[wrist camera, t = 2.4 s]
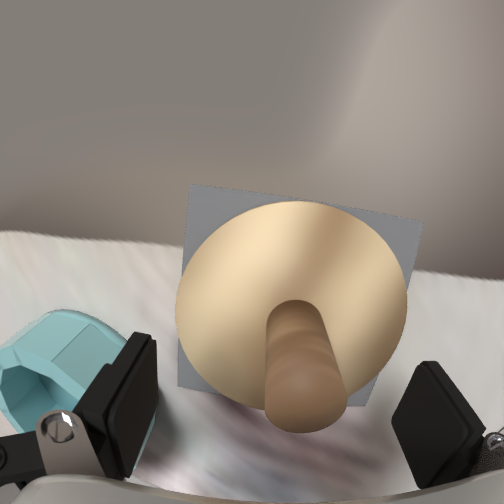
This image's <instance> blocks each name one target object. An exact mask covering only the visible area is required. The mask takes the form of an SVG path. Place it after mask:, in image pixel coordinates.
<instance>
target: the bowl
mask: <svg viewBox="0 0 504 504" xmlns="http://www.w3.org/2000/svg"><path fill="white" fill-rule="evenodd" d="M126 342H127V340H126V339H125V338H123V337H122V336H121V335H120V334H119V333H118V332H116V331H115V330H114V329H112V328H111V327H109V326H108V325H107V324H105V323H103V322H102V321H100V320H98V319H96V318H94V317H92V316H90V315H88V314H85V313H82V312H79V311H74V310H65V309H61V310H54V311H51V312H48V313H46V314H44V315H43V316H41V317H40V318H39V319H37V320H35V321H33V322H31V323H29V324H27V325H26V326H25V327H23V328H22V329H21V330H19V331H18V332H17V333H16V334H14V335H13V336H12V337H10V338H9V339H8V340H7V341H5V342H4V343H3V344H1V345H0V410H1V412H2V413H3V414H4V416H5V417H6V418H7V420H8V421H9V422H10V423H11V425H12V426H13V427H14V428H15V430H16V431H17V432H18V433H19V434H20V433H25V432H30V431H35V430H36V427H35V425H36V423H37V420H38V419H39V418H40V417H41V415H43V414H44V413H46V412H48V411H52V410H60V409H62V410H67V411H70V412H72V410H73V409H74V407H75V406H76V404H77V403H78V401H79V400H80V399H81V397H82V396H83V394H84V393H85V391H86V390H87V388H88V387H89V385H90V384H91V382H92V381H93V379H94V378H95V377H96V375H97V374H98V372H99V371H100V369H101V368H102V367H103V365H104V364H106V363H109V364H112V363H113V361H114V360H115V358H116V357H117V356H118V354H119V353H120V351H121V350H122V348H123V347H124V345H125V344H126ZM157 407H158V405H157ZM156 412H157V408H156V411H155V413H154V416H153V419H152V421H151V424H150V426H149V429H148V432H147V434H146V437H145V440H144V442H143V445H142V447H141V450H140V453H139V455H138V458H137V461H136V463H135V466H134V469H136V466H137V464H138V462H139V459H140V457H141V454H142V452H143V449H144V447H145V445H146V442H147V440H148V437H149V435H150V433H151V430H152V428H153V426H154V423H155V414H156ZM134 469H133V470H134Z"/></svg>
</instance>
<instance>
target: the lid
mask: <svg viewBox="0 0 504 504" xmlns="http://www.w3.org/2000/svg"><path fill="white" fill-rule="evenodd" d="M406 314H407V291H406V284H405V280H404V276H403V273H402V270H401V267H400V265H399V263H398V261H397V259H396V257H395V255H394V253H393V252H392V250H391V249H390V248H389V246H388V245H387V243H386V242H385V241H384V240H383V239H382V238H381V237H380V236H379V235H378V233H377V232H375V231H374V230H373V229H372V228H370V227H369V226H368V225H367V224H365V223H364V222H362V221H361V220H359V219H357V218H356V217H354V216H352V215H350V214H349V213H347V212H345V211H342V210H340V209H337V208H335V207H332V206H329V205H325V204H321V203H317V202H310V201H299V200H296V201H280V202H274V203H268V204H264V205H261V206H258V207H255V208H252V209H249V210H247V211H245V212H243V213H241V214H238V215H236V216H234V217H233V218H231V219H230V220H228V221H227V222H225V223H224V224H222V225H221V226H220V227H219V228H218V229H216V230H215V231H214V232H213V233H212V234H211V235H210V236H209V237H208V238H207V239H206V240H205V241H204V243H203V244H202V245H201V246H200V247H199V248H198V250H197V251H196V252H195V253H194V255H193V257H192V258H191V260H190V261H189V263H188V265H187V266H186V269H185V271H184V273H183V276H182V278H181V281H180V284H179V288H178V291H177V297H176V306H175V315H176V326H177V332H178V336H179V339H180V342H181V345H182V348H183V350H184V352H185V354H186V356H187V358H188V360H189V361H190V363H191V364H192V366H193V367H194V369H195V370H196V371H197V372H198V373H199V375H200V376H201V377H202V378H203V379H204V380H205V381H206V382H207V383H208V384H210V385H211V386H212V387H213V388H214V389H216V390H217V391H219V392H220V393H221V394H223V395H224V396H226V397H228V398H230V399H232V400H234V401H236V402H238V403H241V404H243V405H246V406H249V407H252V408H256V409H260V410H265V413H266V416H267V418H268V419H269V421H270V422H271V423H272V424H273V425H275V426H276V427H278V428H280V429H282V430H284V431H287V432H292V433H310V432H315V431H318V430H321V429H324V428H326V427H328V426H330V425H331V424H333V423H334V422H335V421H337V420H338V419H339V418H340V417H341V415H342V414H343V413H344V411H345V409H346V406H347V401H348V399H347V397H348V396H350V395H352V394H354V393H355V392H357V391H358V390H360V389H361V388H363V387H364V386H365V385H366V384H367V383H369V382H370V381H371V380H372V379H373V378H374V377H375V376H376V375H377V374H378V373H379V372H380V371H381V370H382V369H383V367H384V366H385V365H386V363H387V362H388V361H389V359H390V358H391V356H392V354H393V353H394V351H395V349H396V347H397V345H398V343H399V340H400V338H401V336H402V332H403V329H404V325H405V321H406Z"/></svg>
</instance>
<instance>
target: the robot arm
mask: <svg viewBox="0 0 504 504" xmlns="http://www.w3.org/2000/svg"><path fill="white" fill-rule="evenodd" d="M157 405H158V379H157V344H156V340H153V339H152V338H151V335H149V334H144V333H139V332H134V333H133V334H132V335H131V337H130V338H129V339H128V341H127V342H126V344H125V345H124V347H123V348H122V350H121V351H120V353H119V354H118V356H117V357H116V358H115V360H114V361H113V363H112V364H109V363H106V364H104V365H103V367H102V368H101V369H100V371H99V372H98V374H97V375H96V377H95V378H94V379H93V381H92V382H91V384H90V385H89V387H88V388H87V390H86V391H85V393H84V394H83V396H82V397H81V399H80V400H79V401H78V403H77V404H76V406H75V407H74V409H73V410H72V412H70V411H67V410H62V409H60V410H52V411H48V412H46V413H44V414H43V415H41V417H40V418H39V419H38V420H37V423H36V425H35V427H36V430H35V431H30V432H25V433H20V434H15V435H10V436H4V437H0V504H504V429H503V430H501V431H500V432H499V433H497V432H491V433H489V434H487V435H486V436H485V437H483V436H482V434H483V433H484V431H485V430H486V427H485V426H484V425H483V423H482V422H481V420H480V419H479V417H478V416H477V414H476V413H475V412H474V410H473V409H472V407H471V406H470V405H469V403H468V402H467V400H466V399H465V398H464V396H463V395H462V394H461V392H460V391H459V390H458V388H457V387H456V386H455V384H454V383H453V381H452V380H451V379H450V378H449V376H448V375H447V374H446V372H445V371H444V370H443V368H442V367H441V366H440V364H439V363H438V362H437V361H423V362H421V363H420V365H418V366H417V367H416V369H415V371H414V373H413V375H412V378H411V380H410V382H409V384H408V386H407V388H406V390H405V393H404V395H403V397H402V399H401V401H400V403H399V405H398V407H397V409H396V410H395V412H394V414H393V416H392V421H391V422H392V426H393V429H394V431H395V433H396V436H397V438H398V440H399V443H400V445H401V448H402V450H403V452H404V455H405V457H406V460H407V462H408V464H409V467H410V469H411V472H412V474H413V477H414V479H415V482H416V484H417V487H418V488H420V489H421V490H417V491H412V492H407V493H402V494H396V495H390V496H383V497H376V498H369V499H360V500H350V501H337V502H319V503H269V502H251V501H239V500H229V499H220V498H212V497H205V496H198V495H191V494H185V493H179V492H174V491H169V490H164V489H159V488H154V487H150V486H144V485H140V484H135V483H130V482H126V481H123V480H124V478H128V479H129V478H130V477H131V474H132V472H133V469H134V466H135V463H136V461H137V458H138V455H139V453H140V450H141V447H142V445H143V442H144V440H145V437H146V434H147V432H148V429H149V426H150V424H151V421H152V419H153V416H154V413H155V411H156V408H157Z"/></svg>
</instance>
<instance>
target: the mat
mask: <svg viewBox="0 0 504 504" xmlns="http://www.w3.org/2000/svg"><path fill="white" fill-rule="evenodd" d="M296 200H299V201H310V202H317V201H311V200H305V199H299V198H292V197H286V196H279V195H273V194H266V193H258V192H251V191H244V190H236V189H228V188H220V187H211V186H203V185H194V184H192V185H190V187H189V196H188V206H187V217H186V227H185V238H184V250H183V264H182V276H183V273H184V271H185V269H186V266H187V265H188V263H189V261H190V260H191V258H192V257H193V255H194V253H195V252H196V251H197V250H198V248H199V247H200V246H201V245H202V244H203V243H204V241H205V240H206V239H207V238H208V237H209V236H210V235H211V234H212V233H213V232H214V231H215V230H216V229H218V228H219V227H220V226H221V225H222V224H224V223H225V222H227V221H228V220H230V219H231V218H233V217H234V216H236V215H238V214H241V213H243V212H245V211H247V210H249V209H252V208H255V207H258V206H261V205H264V204H268V203H274V202H280V201H296ZM317 203H321V204H325V205H329V206H332V207H335V208H337V209H340V210H342V211H345V212H347V213H349V214H350V215H352V216H354V217H356V218H357V219H359V220H361V221H362V222H364V223H365V224H367V225H368V226H369V227H370V228H372V229H373V230H374V231H375V232H377V233H378V235H379V236H380V237H381V238H382V239H383V240H384V241H385V242H386V243H387V245H388V246H389V248H390V249H391V250H392V252H393V253H394V255H395V257H396V259H397V261H398V263H399V265H400V267H401V270H402V273H403V276H404V280H405V284H406V291H407V289H408V285H409V282H410V278H411V274H412V270H413V267H414V262H415V259H416V254H417V250H418V245H419V242H420V237H421V233H422V228H423V222H420V221H417V220H412V219H408V218H403V217H398V216H393V215H388V214H383V213H378V212H373V211H368V210H363V209H357V208H352V207H346V206H341V205H335V204H329V203H323V202H317ZM378 374H379V373H378ZM378 374H377V375H376V376H375V377H374V378H373V379H372V380H371V381H370V382H369V383H367V384H366V385H365V386H364V387H363V388H361V389H360V390H358V391H357V392H355V393H354V394H352V395H350V396H348V397H347V399H348V401H347V406H365V405H366V403H367V400H368V398H369V396H370V394H371V391H372V389H373V386H374V384H375V382H376V379H377V377H378ZM178 386H179V387H183V388H189V389H194V390H199V391H205V392H210V393H216V394H221V393H220V392H219V391H217V390H216V389H214V388H213V387H212V386H211V385H210V384H208V383H207V382H206V381H205V380H204V379H203V378H202V377H201V376H200V375H199V373H198V372H197V371H196V370H195V369H194V367H193V366H192V364H191V363H190V361H189V360H188V358H187V356H186V354H185V352H184V350H183V348H182V345H181V342H180V339H179V341H178Z"/></svg>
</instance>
